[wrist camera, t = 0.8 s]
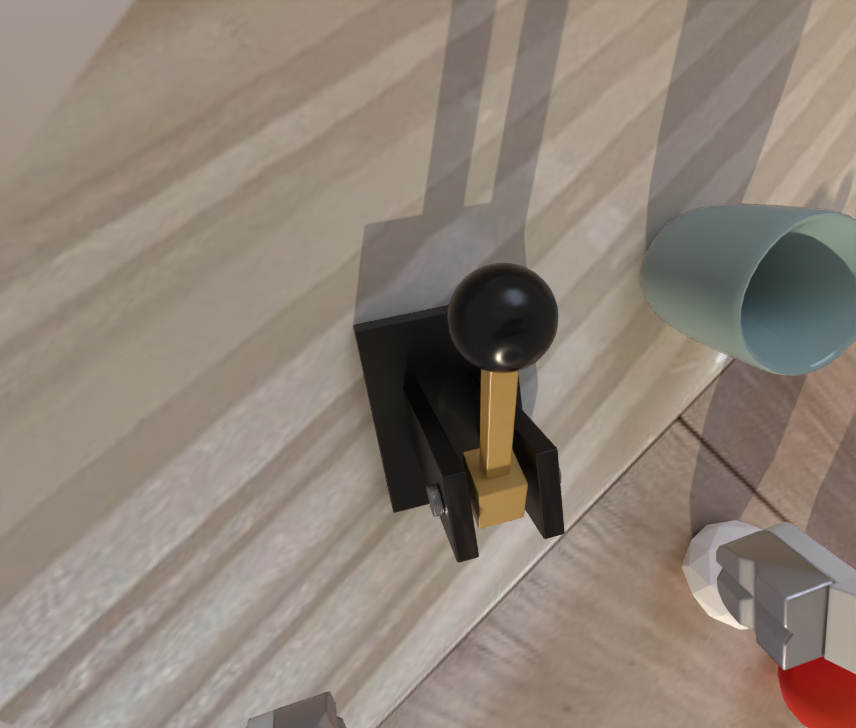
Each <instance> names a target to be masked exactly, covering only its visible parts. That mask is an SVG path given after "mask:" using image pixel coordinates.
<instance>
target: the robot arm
mask: <svg viewBox="0 0 856 728" xmlns="http://www.w3.org/2000/svg"><path fill="white" fill-rule="evenodd" d="M716 562H717V563H718V564H719V565H720V566H721V567H723V568H722V570H721V571H720V573H719V575H718V576H717V587H718V592H719V595H720V597H721V599H722V602H723V604H724V605H725V607H726V608H727V610H728V611H729V613H730V614H731V615H732V616H733V617H734V619H735V620H736V621H737V622H738V623H739V624H740V625H743V626H745V627H748V628H750V629H753V630H755V632H756V639H757V643H758V644H759V645H760V646H761V647H762V648H763V649H764V650H765V651H766V652H767V653H768V654H769V656H770V657H771V658H772V659H773V660H774V661H775V662H776V663H777V664H778V665H779V666H780V667H781V668H782V669H783V670H787V669H790V668H792V667H795V666H798V665H800V664H803V663H806V662H809V661H811V660H814V659H817V658H820V657H822V656H825V657H824V658H825V659H827V660H829V661H831V662H833V663H835V664H837V665H839V666H841V667H843V668H845V669H847V670H849V671H851V672H853V673H855V674H856V570H855V569H853V568H852V567H851V566H849V565H848V564H847V563H845V562H844V561H842V560H841V559H840V558H838V557H837V556H836V555H834V554H833V553H831V552H830V551H829V550H827V549H826V548H825V547H823V546H822V545H821V544H819V543H818V542H816V541H815V540H814V539H812V538H811V537H810V536H808V535H807V534H806V533H804V532H803V531H801V530H800V529H799V528H797V527H796V526H795V525H793V524H791V523H788V522H783V523H780V524H777V525H774V526H772V527H769V528H766V529H764V530H762V531H757V532H754V533H752V534H749V535H747V536H744V537H742V538H739V539H736V540H734V541H731V542H729V543H726V544H723V545H721V546H719V547H718V549H717V551H716ZM246 728H346V726H345V723H344V721H343V719H342V718H340V717H337V713H336V703H335V701H334V699H333V697H332V694H331V692H325V693H322V694H319V695H316V696H314V697H311V698H308V699H305V700H302V701H299V702H296V703H293V704H290V705H287V706H284V707H281V708H278V709H276V710H273V711H270V712H267V713H264V714H262V715H259V716H256V717H253V718H250V719H249V721H248V724H247V726H246Z"/></svg>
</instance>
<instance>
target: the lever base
mask: <svg viewBox="0 0 856 728" xmlns="http://www.w3.org/2000/svg"><path fill="white" fill-rule="evenodd" d="M448 307H449V305H447V306H442V307H437V308H432V309H428V310H423V311H418V312H413V313H409V314H404V315H399V316H394V317H389V318H385V319H380V320H375V321H370V322H365V323H361V324H356V325H353V327H354V332H355V337H356V341H357V346H358V351H359V355H360V360H361V365H362V369H363V374H364V379H365V383H366V388H367V393H368V397H369V402H370V407H371V411H372V416H373V421H374V425H375V430H376V435H377V439H378V444H379V449H380V453H381V458H382V463H383V467H384V472H385V477H386V481H387V486H388V491H389V495H390V500H391V504H392V508H393V512H394V513H395V512H399V511H403V510H407V509H411V508H415V507H418V506H422V505H426V504H430V508H431V511H432V514H433V516H434V517H437V516H440V519H441V521H442V524H443V526H444V529H445V532H446V534H447V537H448V539H449V542H450V545H451V547H452V550H453V552H454V555H455V558H456V560H457V562H463V561H467V560H470V559H474V558H477V557H479V553H478V547H477V540H476V534H475V527H474V521H473V514H472V508H471V501H470V495H469V488H468V482H467V475H466V471H465V469H464V468H463V453H464V452H467V451H471V450H475V449H479V448H480V409H481V369H480V368H477V367H476V366H474V365H472V364H471V363H469V362H468V361H467V360H466V359H465V358H464V357H462V355H461V354H460V353H459V352H458V350H457V349H456V347H455V346H454V344H453V342H452V340H451V337H450V334H449V330H448V322H447V315H448ZM512 450H513V452H514V454H515V456H516V459H517V461H518V463H519V465H520V467H521V470H522V472H523V474H524V476H525V479H526V481H527V483H528V488H527V495H526V503H525V510H526V512H527V513H528V515H529V516H530V518H531V519H532V521H533V522H534V524H535V525H536V527H537V529H538V530H539V532H540V533H541V535H542V536H543V538H544V539H547V538H551V537H554V536H558V535H562V534H564V521H563V509H562V498H561V486H560V483H561V472H560V468H559V462H558V451H557V448H556V447H555V446H554V445H553V443H552V442H551V441H550V440H549V439H548V438H547V437H546V436H545V435H544V433H543V432H542V431H541V430H540V429H539V428H538V427H537V426H536V425H535V423H534V422H533V421H532V420H531V419H530V418H529V417H528V416H527V415H526V414H525V412H524V411H523V410H522V404H521V394H520V385H519V376H518V384H517V396H516V407H515V419H514V431H513V443H512Z"/></svg>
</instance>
